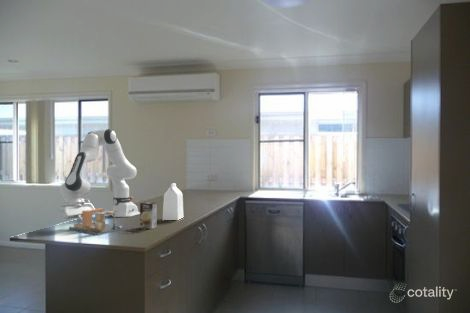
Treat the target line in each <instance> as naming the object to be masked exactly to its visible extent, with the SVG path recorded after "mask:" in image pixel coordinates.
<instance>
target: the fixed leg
mask: <svg viewBox="0 0 470 313" xmlns="http://www.w3.org/2000/svg"><path fill="white" fill-rule="evenodd" d="M115 213H116V211H113V210H111V211H110V210H109V211H104V212H103V211H102V213H100V212H95V214H94V221H95V227H92V226H87V227H85V226H82V223H75V224H73V227H77V228H82V229H87V230H92V231H97V232H104V229H105V224H106V216H108V215H112V214H113V216H112V219H113V220H112V225H113V228H115V226H116V217H115Z"/></svg>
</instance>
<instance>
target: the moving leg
mask: <svg viewBox="0 0 470 313" xmlns="http://www.w3.org/2000/svg"><path fill="white" fill-rule="evenodd" d="M103 211H104V208H100V207H99V208H95V209H94V210H85V211H82V217H81V218H82V222H81V224H82V226H85V227H87V226H92V223H93V215H92V213H93V212H95V213H103ZM104 212H105V211H104Z"/></svg>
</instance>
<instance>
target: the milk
mask: <svg viewBox="0 0 470 313" xmlns="http://www.w3.org/2000/svg"><path fill="white" fill-rule="evenodd" d="M183 197H184V194H183V192H182V191H181V190H180V189H179V188H178V187H177V183H176V182H175V183H174V182H173V183H171V184H170V187H169V188H168V189H167V191H165V192H164V194H163V205H162V206H163V207H162V221H164V220H179V219H181V218H183V217H185V216H184V198H183ZM183 219H184V218H183ZM181 220H182V219H181ZM179 221H180V220H179Z"/></svg>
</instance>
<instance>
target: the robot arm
mask: <svg viewBox="0 0 470 313" xmlns="http://www.w3.org/2000/svg"><path fill="white" fill-rule="evenodd" d="M100 146H104V149H105V152H106V155H107V157H108V160H109V161H110V162H111V163H112V164H111V165H109V166H108V167H107V168H106V174H107V176H108V177H109V178H110V180H111V182H112V185H113V199H112V200H113V201H112V202H113V207H112V211H116V213H115V218H124V217H125V218H127V217H128V218H129V217H133V216H137V215H140V211H139V208H138V206H137V205H136V204H135V203H134V202H132V200H134V197H133V196H130V187H129V185H128V183H127V182H126V181H125V180H132V179H134V178H136V176H137V174H138V173H137V172H138V170H137V168H136V167H135V166H134V165H133V164H132V163H131V162H130V161H129V160H128V159H127V158H126V156H125V154H124V151H123V148H122V144H121V143H120V141H119V139H118V136H117V132H116V131H115V130H113V129H111V128H110V129H109V128H107V129H98V130H92V131H89V132H87V134H86V135H85V137H84V139H83V141H82V144H81V147H80V151H79V152H78V153H77V155H76V156H75V159H74V161H73V163H72V166H71V169H70V170H69V171H70V172H69V174H68V175H67V177H66V178H65V181H64V183H62V184H61V185H60V188H59V191H60V194H61V196H62V198H63V200H64V201H65V204H66V205H61V207H60V211H61V213H62V216H63V219H65V220H71V219H77V220H79V221H80V223H82V211H85V210H94V209H96V208H95V206H94V205H93V204H92V203H91V201H90V199H87V198H82V197H83V196H85V195H87V194H88V193H89V192H90V191H91V188H92V184H91V182H89V181H88V180H87V179H85V178H83V177H82V171H83V168H84V165H85V164H86V163H92V162H94V161H96V159H97V158H98V156H99V150H100ZM95 213H96V212H93V213H92V216H95ZM111 217H113V214H111Z"/></svg>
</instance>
